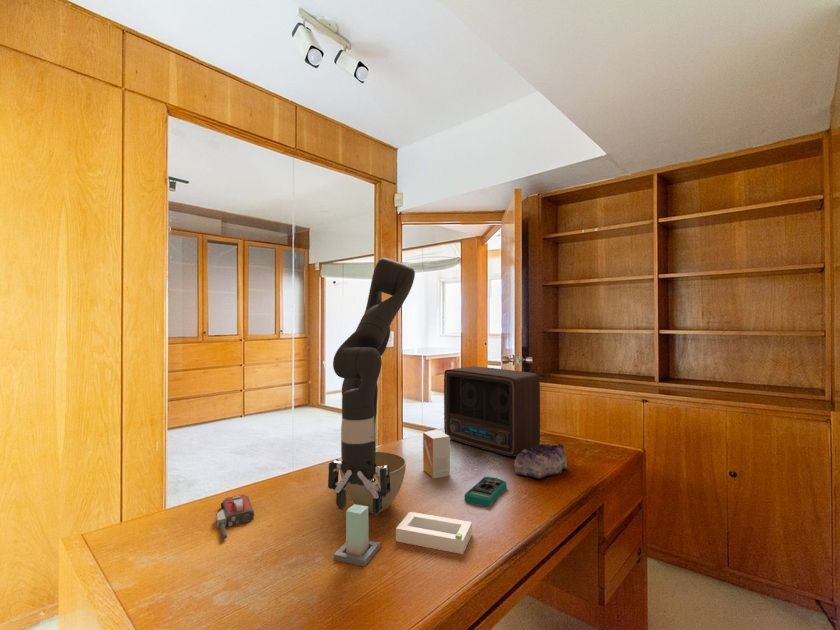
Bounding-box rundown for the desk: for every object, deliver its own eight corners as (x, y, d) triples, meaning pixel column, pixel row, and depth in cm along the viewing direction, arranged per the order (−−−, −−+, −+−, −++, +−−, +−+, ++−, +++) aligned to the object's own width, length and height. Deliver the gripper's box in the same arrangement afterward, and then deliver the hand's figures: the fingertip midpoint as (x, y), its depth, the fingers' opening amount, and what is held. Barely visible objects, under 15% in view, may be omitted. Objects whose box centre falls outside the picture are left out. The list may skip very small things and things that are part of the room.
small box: (422, 470, 143) (422, 431, 143) (439, 467, 145) (439, 429, 145) (432, 478, 135) (432, 438, 135) (450, 475, 138) (450, 436, 138)
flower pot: (333, 499, 121) (333, 456, 121) (393, 488, 128) (392, 448, 128) (348, 528, 104) (348, 479, 104) (416, 514, 111) (415, 468, 111)
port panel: (396, 541, 98) (395, 525, 98) (409, 523, 106) (409, 509, 106) (462, 554, 93) (462, 537, 93) (471, 534, 101) (471, 519, 101)
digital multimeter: (507, 489, 128) (507, 479, 128) (489, 509, 115) (489, 498, 115) (484, 484, 132) (484, 474, 132) (463, 503, 119) (463, 492, 119)
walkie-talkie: (213, 510, 115) (219, 544, 98) (213, 494, 115) (219, 525, 98) (247, 502, 120) (259, 534, 102) (247, 487, 120) (259, 516, 102)
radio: (441, 440, 177) (440, 368, 177) (468, 432, 189) (468, 365, 189) (513, 462, 150) (513, 378, 150) (540, 451, 162) (540, 373, 162)
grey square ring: (334, 559, 91) (334, 554, 91) (351, 542, 98) (351, 537, 98) (364, 566, 88) (364, 560, 88) (379, 548, 95) (379, 542, 95)
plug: (346, 556, 92) (345, 511, 92) (354, 548, 95) (354, 504, 95) (360, 560, 91) (360, 513, 91) (368, 551, 94) (368, 506, 94)
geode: (546, 460, 152) (550, 434, 151) (574, 475, 143) (578, 446, 142) (506, 470, 141) (510, 441, 140) (533, 486, 131) (537, 455, 130)
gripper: (321, 439, 92) (321, 513, 92) (380, 445, 87) (381, 523, 87) (338, 430, 99) (339, 499, 99) (394, 435, 94) (395, 508, 94)
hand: (359, 510), depth 93 cm, fingers open, 8 cm apart
